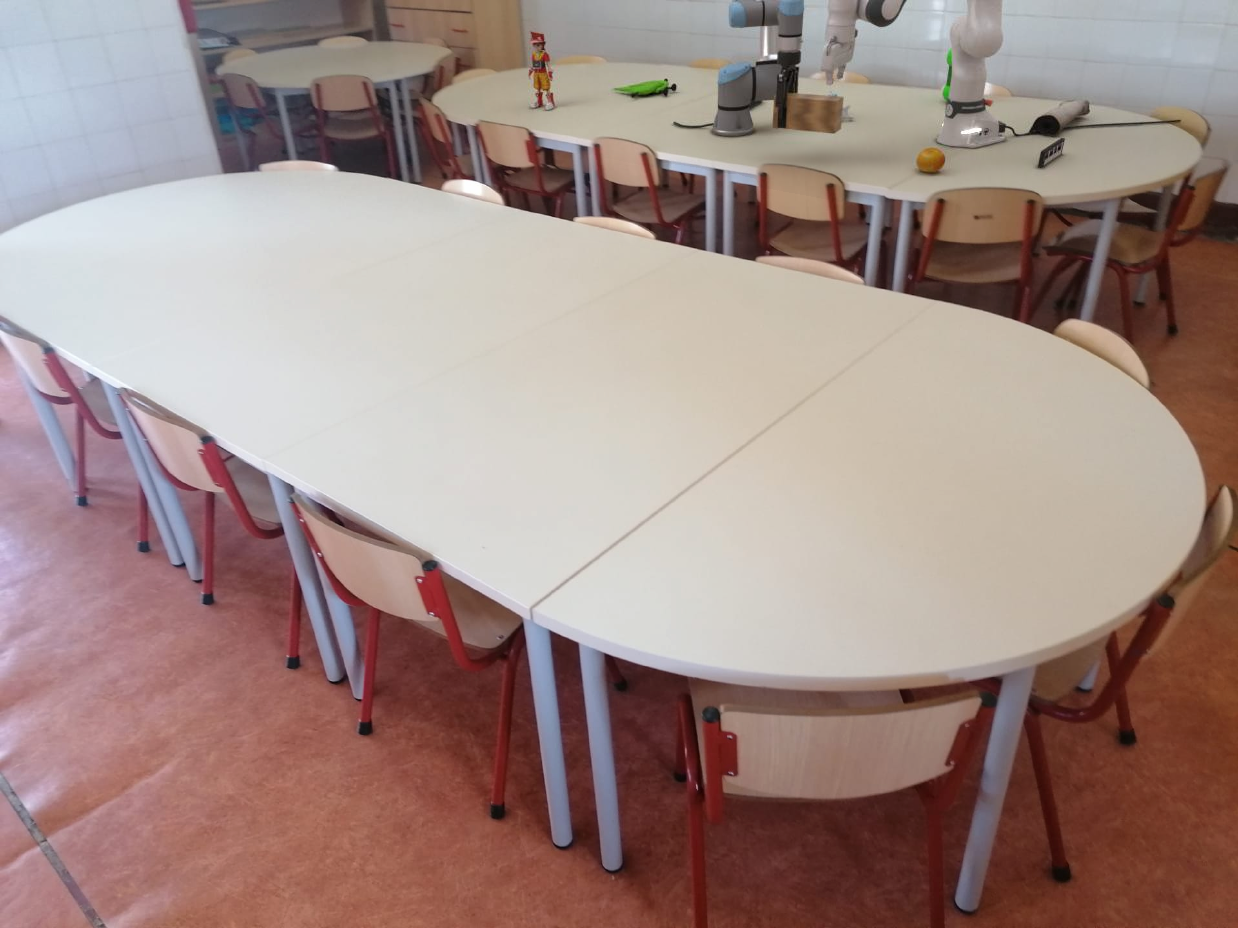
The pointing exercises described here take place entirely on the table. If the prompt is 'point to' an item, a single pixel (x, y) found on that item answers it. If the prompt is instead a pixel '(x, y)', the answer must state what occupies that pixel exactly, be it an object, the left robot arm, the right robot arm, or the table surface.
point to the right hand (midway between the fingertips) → (834, 82)
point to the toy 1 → (541, 71)
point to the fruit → (930, 160)
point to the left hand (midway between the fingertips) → (785, 125)
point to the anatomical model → (845, 109)
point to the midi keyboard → (1051, 152)
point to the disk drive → (753, 103)
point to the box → (811, 113)
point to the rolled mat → (1060, 117)
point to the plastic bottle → (947, 86)
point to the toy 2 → (648, 88)
